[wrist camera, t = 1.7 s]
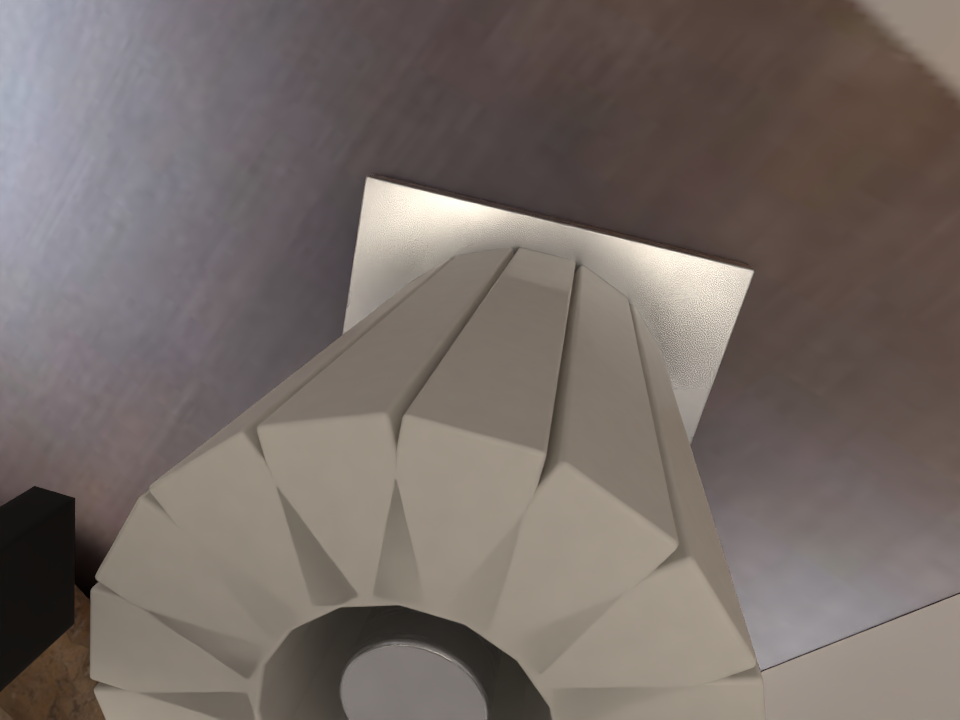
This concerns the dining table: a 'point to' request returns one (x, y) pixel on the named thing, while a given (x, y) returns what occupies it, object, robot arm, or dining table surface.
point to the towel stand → (610, 255)
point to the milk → (876, 673)
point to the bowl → (57, 678)
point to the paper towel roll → (439, 519)
